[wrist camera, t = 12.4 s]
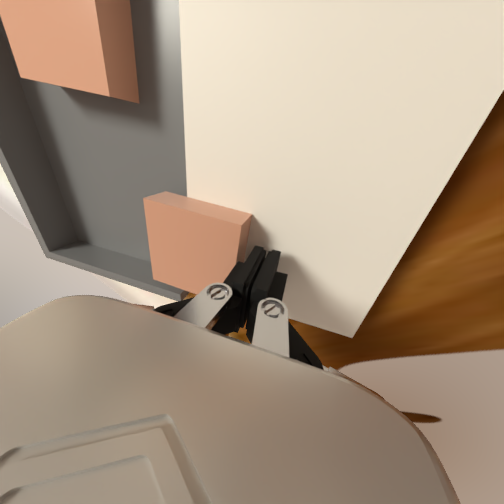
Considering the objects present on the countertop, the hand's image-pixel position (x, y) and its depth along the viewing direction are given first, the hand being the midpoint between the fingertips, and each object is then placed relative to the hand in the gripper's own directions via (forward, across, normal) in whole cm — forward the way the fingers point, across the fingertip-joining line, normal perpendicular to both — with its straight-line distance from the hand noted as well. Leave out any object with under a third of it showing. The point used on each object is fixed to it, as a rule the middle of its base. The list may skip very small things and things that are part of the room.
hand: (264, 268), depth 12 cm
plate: (+3, -1, -6) cm, 7 cm away
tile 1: (+2, +12, -11) cm, 17 cm away
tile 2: (+1, +5, 0) cm, 5 cm away
